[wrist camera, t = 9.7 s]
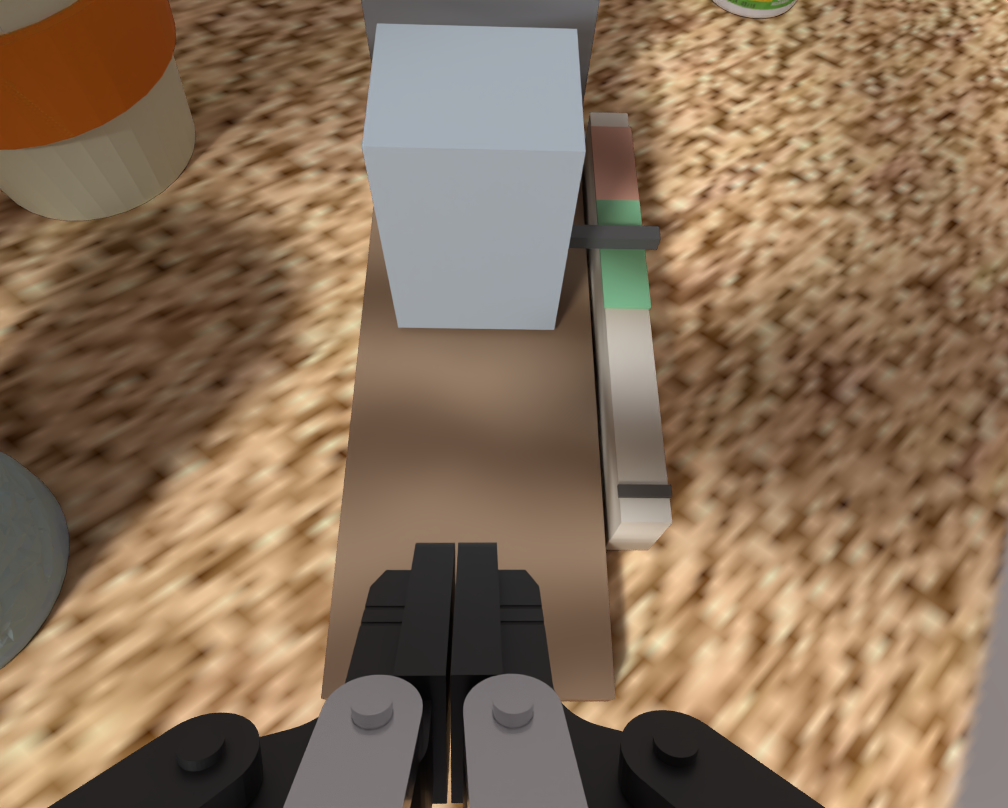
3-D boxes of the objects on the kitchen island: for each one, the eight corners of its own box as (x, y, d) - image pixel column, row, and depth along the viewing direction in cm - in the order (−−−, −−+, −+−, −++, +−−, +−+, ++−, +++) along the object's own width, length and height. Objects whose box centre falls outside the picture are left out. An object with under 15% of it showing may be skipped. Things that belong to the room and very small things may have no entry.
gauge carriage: (649, 331, 27) (721, 154, 19) (398, 327, 27) (361, 146, 18) (632, 173, 30) (686, -32, 22) (410, 169, 30) (384, -41, 22)
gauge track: (663, 701, 23) (815, 668, 12) (330, 701, 22) (202, 666, 12) (607, 99, 35) (660, -171, 25) (391, 93, 35) (353, -182, 24)
